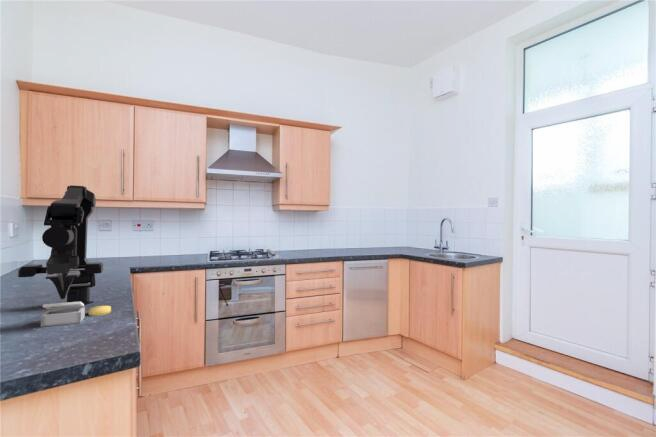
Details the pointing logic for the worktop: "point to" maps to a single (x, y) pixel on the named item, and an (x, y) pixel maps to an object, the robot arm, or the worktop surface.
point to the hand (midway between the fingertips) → (63, 298)
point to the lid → (63, 305)
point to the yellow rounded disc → (99, 310)
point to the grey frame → (62, 317)
